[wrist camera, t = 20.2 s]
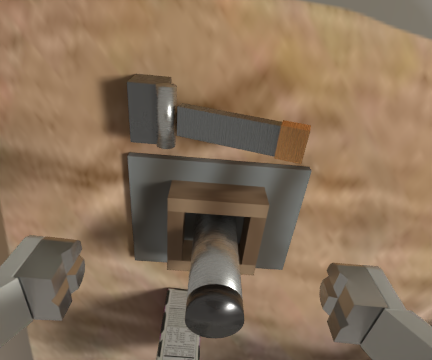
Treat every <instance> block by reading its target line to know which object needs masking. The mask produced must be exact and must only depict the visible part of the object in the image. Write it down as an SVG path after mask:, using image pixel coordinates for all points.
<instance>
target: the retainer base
mask: <svg viewBox="0 0 432 360" xmlns="http://www.w3.org/2000/svg"><path fill="white" fill-rule="evenodd" d="M127 91H128V107H129V122H130V138H131V142H136V143H148V144H157V147H159V148H162V149H171V148H174V147H175V145H176V97H177V86H176V85H175V84H171V77H163V76H153V75H142V74H135V75H134V76H133V77H132V78H131V79H130V80H128V81H127Z"/></svg>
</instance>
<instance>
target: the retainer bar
mask: <svg viewBox="0 0 432 360" xmlns="http://www.w3.org/2000/svg"><path fill="white" fill-rule="evenodd" d="M310 128H311V125H306V124H300V123H295V122H289V121H284V120H283V122H280V121H275V120H269V119H264V118H259V117H253V116H248V115H243V114H237V113H232V112H227V111H221V110H216V109H211V108H205V107H200V106H195V105H189V104H184V103H182V104H181V105H179V106H177V136H181V137H186V138H191V139H195V140H200V141H205V142H209V143H214V144H219V145H223V146H228V147H232V148H237V149H242V150H246V151H251V152H256V153H260V154H265V155H270V156H274V158H275V159H280V160H284V161H289V162H294V163H298V164H301V163H302V159H303V155H304V152H305V148H306V144H307V141H308V137H309V133H310Z"/></svg>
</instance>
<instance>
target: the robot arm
mask: <svg viewBox="0 0 432 360" xmlns="http://www.w3.org/2000/svg"><path fill="white" fill-rule="evenodd" d="M81 250H82V246H81V242H80V241H78V240H72V239H64V238H55V237H43V236H35V235H29V236H27V237H25V238H24V239H23V240H22V242H21V243H20V244H19V245H18V246H17V248H16V249H15V250H14V251H13V252H12V254H11V255H10V256H9V257H8V258H7V259H6V261H5V262H4V263H3V264H2V265H1V267H0V348H1V347H2V346H3V345H4V344H5V343H7V342H8V341H9V340H10V339H11V338H13V337H14V336H15V335H16V334H18V333H19V332H20V331H21V330H22V329H24V328H25V327H26V326H27V325H29V324H30V323H31V322H32V321H33V319H39V320H59V321H62V320H63V318H64V316H65V314H66V312H67V310H68V308H69V306H70V304H71V302H72V298H71V293H73V292H74V291H76V290H77V289H78V288H79V286H80V284H81V282H82V279H83V275H84V272H85V263H84V259H83V258H82V257H81V256H80V255H79V254H80V252H81ZM327 273H328V275H329V276H328V277H326V278H325V279H323V280H322V283H321V286H320V302H321V305H322V308H323V310H324V311H325V312H326V313H327V314H328V315H329V318H328V320H327V323H328V326H329V329H330V332H331V335H332V338H333V341H334V342H341V343H350V344H359V345H361V347H362V349H363V350H364V351H365V352H366V353H367V354H368V356H369V357H370V358H371V359H372V360H432V326H431V325H429V324H428V323H427V322H425V321H424V320H423V319H421V318H420V317H419V316H418V315H416V314H415V313H414V312H412V311H409V310H406V308H405V307H404V305H403V303H402V302H401V300H400V299H399V297H398V295H397V294H396V292H395V290H394V289H393V287H392V285H391V284H390V282H389V281H388V279H387V277H386V276H385V274H384V272H383V271H382V269H381V268H379V267H378V266H367V265H354V264H342V263H331V264H330V265H329V267H328V269H327Z"/></svg>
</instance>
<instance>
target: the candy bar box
mask: <svg viewBox="0 0 432 360" xmlns="http://www.w3.org/2000/svg"><path fill="white" fill-rule="evenodd" d="M187 293H188V290H184V289H174V288H168V289H167V296H166V302H165V308H164V314H163V320H162V326H161V333H160V339H159V345H158V351H157V358H156V360H199V357H200V336H199V335H197V334H195V333H193V332H192V331H190V330H189V329H188V327H187V326H186V324H185V312H186V302H187Z"/></svg>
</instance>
